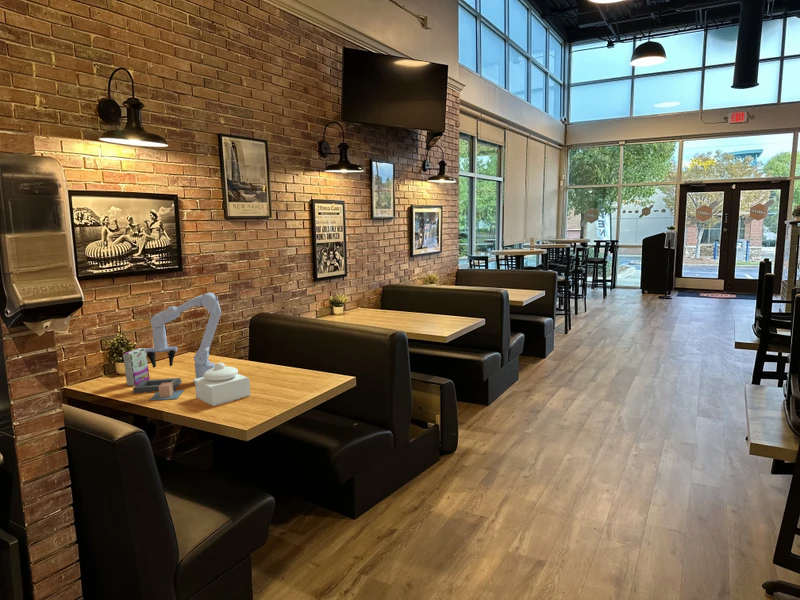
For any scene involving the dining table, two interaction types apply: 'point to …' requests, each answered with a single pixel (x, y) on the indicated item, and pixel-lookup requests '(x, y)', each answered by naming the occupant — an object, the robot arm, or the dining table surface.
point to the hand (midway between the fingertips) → (162, 366)
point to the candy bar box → (136, 366)
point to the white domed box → (221, 385)
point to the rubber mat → (173, 396)
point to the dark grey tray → (154, 385)
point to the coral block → (166, 389)
